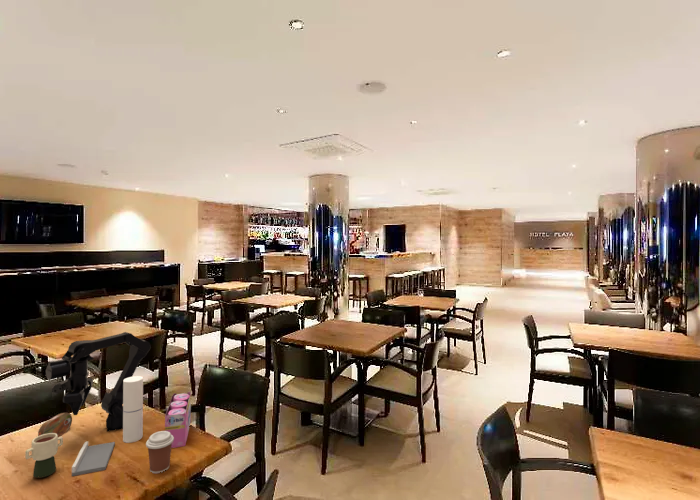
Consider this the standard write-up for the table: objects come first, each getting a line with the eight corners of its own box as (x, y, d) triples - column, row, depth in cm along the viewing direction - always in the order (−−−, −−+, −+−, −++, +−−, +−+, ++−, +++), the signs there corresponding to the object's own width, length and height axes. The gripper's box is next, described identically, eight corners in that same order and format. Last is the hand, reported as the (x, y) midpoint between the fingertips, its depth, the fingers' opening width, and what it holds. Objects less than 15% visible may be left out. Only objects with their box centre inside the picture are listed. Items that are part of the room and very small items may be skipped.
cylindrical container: (124, 444, 150) (125, 383, 149) (121, 437, 155) (121, 378, 155) (144, 438, 154) (144, 379, 154) (140, 432, 160) (140, 374, 159)
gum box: (172, 421, 170) (173, 392, 170) (191, 419, 172) (191, 390, 172) (164, 449, 147) (164, 415, 147) (185, 446, 149) (185, 413, 149)
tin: (43, 447, 147) (43, 426, 147) (36, 446, 147) (36, 425, 147) (72, 428, 162) (72, 409, 162) (65, 428, 162) (65, 409, 162)
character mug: (57, 463, 137) (57, 428, 136) (67, 469, 133) (67, 433, 133) (20, 479, 127) (20, 442, 127) (30, 486, 124) (30, 448, 123)
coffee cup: (139, 472, 132) (139, 439, 132) (160, 458, 141) (160, 427, 140) (158, 478, 129) (159, 444, 129) (179, 463, 137) (179, 431, 137)
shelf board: (114, 444, 150) (114, 436, 150) (105, 469, 133) (105, 461, 133) (84, 449, 146) (84, 441, 146) (70, 476, 129) (70, 467, 129)
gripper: (62, 367, 156) (62, 404, 157) (46, 383, 139) (46, 424, 140) (93, 364, 161) (93, 400, 161) (81, 379, 144) (81, 419, 144)
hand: (78, 410), depth 151 cm, fingers open, 9 cm apart
